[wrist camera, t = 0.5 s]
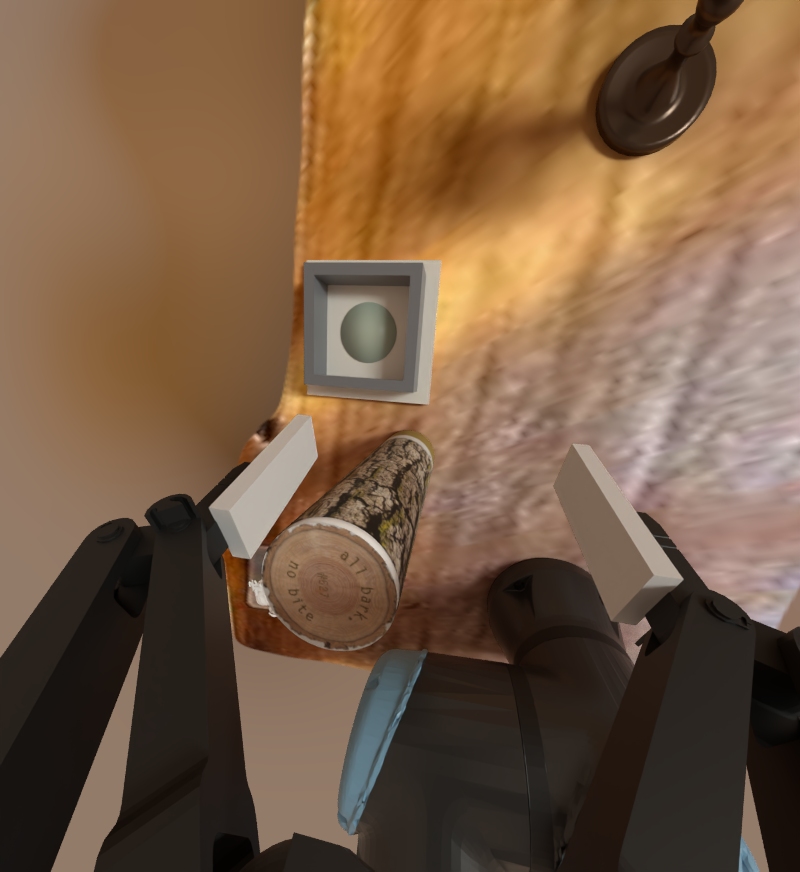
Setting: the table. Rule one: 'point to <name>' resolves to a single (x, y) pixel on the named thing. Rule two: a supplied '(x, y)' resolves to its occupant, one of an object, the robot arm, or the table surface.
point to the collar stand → (370, 328)
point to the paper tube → (352, 549)
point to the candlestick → (661, 83)
